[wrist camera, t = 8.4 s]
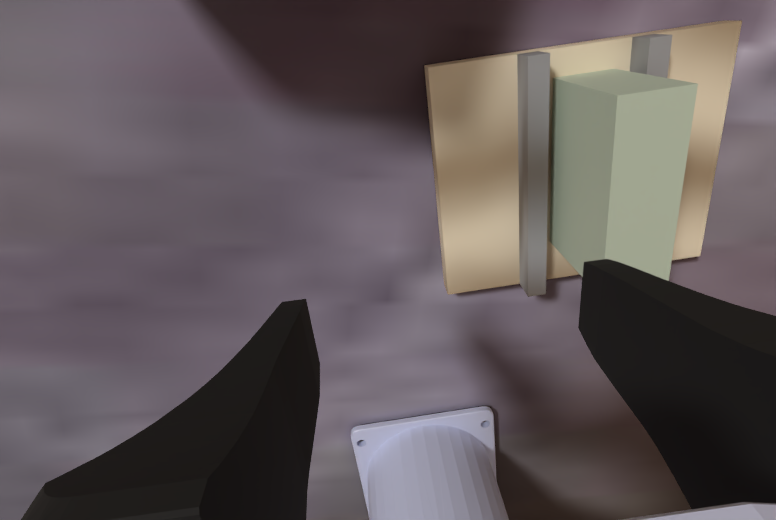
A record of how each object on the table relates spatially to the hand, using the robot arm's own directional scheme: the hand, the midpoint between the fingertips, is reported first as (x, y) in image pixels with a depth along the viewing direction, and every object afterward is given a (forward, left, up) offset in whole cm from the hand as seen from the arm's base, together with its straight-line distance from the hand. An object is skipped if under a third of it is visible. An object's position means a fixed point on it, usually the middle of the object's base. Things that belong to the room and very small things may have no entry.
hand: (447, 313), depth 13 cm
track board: (0, -7, -10) cm, 12 cm away
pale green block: (+1, -7, -9) cm, 12 cm away
